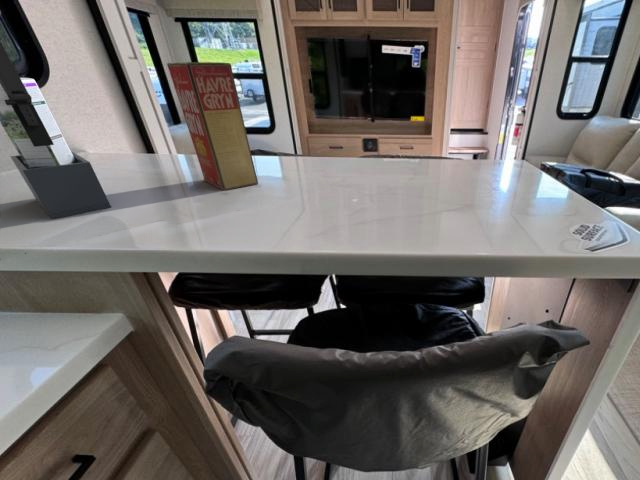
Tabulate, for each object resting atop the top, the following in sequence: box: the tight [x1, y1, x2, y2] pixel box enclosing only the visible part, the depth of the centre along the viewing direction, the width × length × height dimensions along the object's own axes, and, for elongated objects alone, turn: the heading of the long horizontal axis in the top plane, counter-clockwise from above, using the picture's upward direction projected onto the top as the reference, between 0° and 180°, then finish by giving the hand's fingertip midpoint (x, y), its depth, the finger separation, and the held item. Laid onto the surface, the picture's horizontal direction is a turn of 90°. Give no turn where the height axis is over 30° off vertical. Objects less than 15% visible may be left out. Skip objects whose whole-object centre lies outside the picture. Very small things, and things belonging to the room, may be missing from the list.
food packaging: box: [166, 61, 259, 192], centre depth 78 cm, size 13×9×25 cm
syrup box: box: [0, 77, 76, 168], centre depth 62 cm, size 6×6×14 cm
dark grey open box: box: [10, 150, 112, 220], centre depth 68 cm, size 17×9×9 cm, turn 49°
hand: (40, 142), depth 64 cm, fingers closed on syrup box, 8 cm apart
